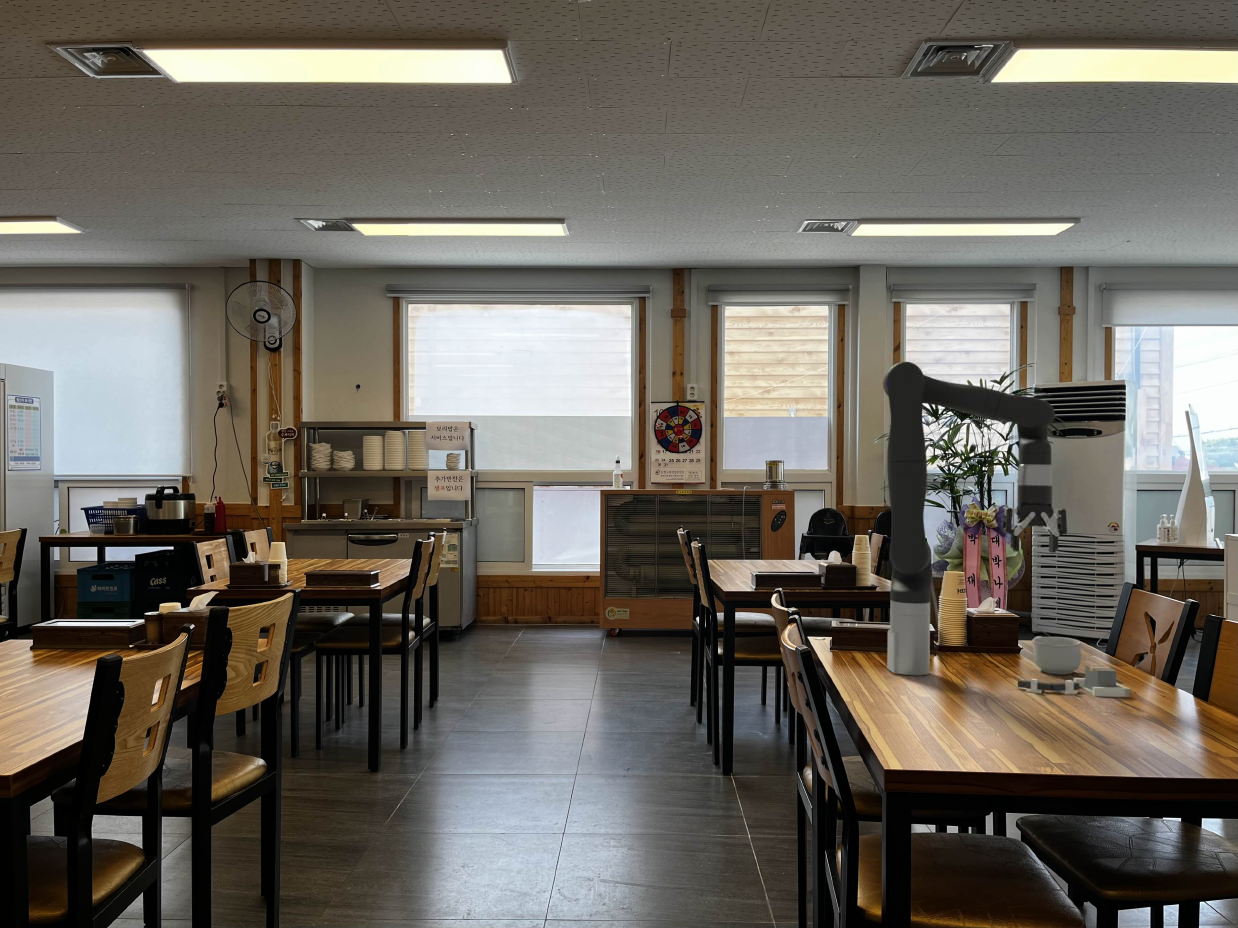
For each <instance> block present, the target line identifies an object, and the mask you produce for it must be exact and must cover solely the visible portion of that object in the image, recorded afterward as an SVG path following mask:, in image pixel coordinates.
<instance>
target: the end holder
mask: <svg viewBox="0 0 1238 928" xmlns="http://www.w3.org/2000/svg"><path fill="white" fill-rule="evenodd" d="M1073 681H1074V682H1077V683H1079V688H1082V689H1083V690H1085V691H1087V692H1089V693H1092V696H1093V697H1110V698H1111V697H1114V698H1118V697H1121V698H1130V696H1131V695H1130V693H1131V691H1130V690H1131V688H1129V687H1126V686H1124V685H1122V684H1120V683H1118V682H1116V687H1092V690H1090V689H1088V688H1086V687H1085V677H1082V678H1081V677H1073Z"/></svg>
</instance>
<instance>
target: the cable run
mask: <svg viewBox="0 0 1238 928" xmlns="http://www.w3.org/2000/svg"><path fill="white" fill-rule="evenodd" d="M1017 688H1021V689H1027V688H1030V689H1031V680H1023V679H1018V680H1017ZM1037 689H1039V690H1042V691H1047V692H1048V691H1049V692H1051V691H1052V692H1056V691H1063V690H1065V681H1064V682H1042V681H1037ZM1074 691H1080V687H1079V683H1077V682H1074Z"/></svg>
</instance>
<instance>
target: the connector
mask: <svg viewBox="0 0 1238 928" xmlns="http://www.w3.org/2000/svg"><path fill="white" fill-rule="evenodd" d="M1084 678H1085V687H1086V688H1088V689H1090V690H1092V687H1116V683H1117V670H1115V669H1112V667H1111V668H1110V667H1108V666H1105V665H1097V664H1096V665H1094V664H1085V665H1084Z"/></svg>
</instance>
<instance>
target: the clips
mask: <svg viewBox="0 0 1238 928" xmlns="http://www.w3.org/2000/svg"><path fill="white" fill-rule="evenodd" d="M1030 681H1031V689H1030V688H1025V689H1026V690H1025V692H1027V693H1034V694H1042V692H1043V690H1039V689H1037V682H1038V678H1030ZM1064 682H1065V690H1063V691H1055V692H1057V693H1060V694H1062V695H1066V696H1067V695H1077V694H1078V690H1074V680H1071V679H1068V680H1067V679H1066V680H1065V681H1064Z"/></svg>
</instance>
